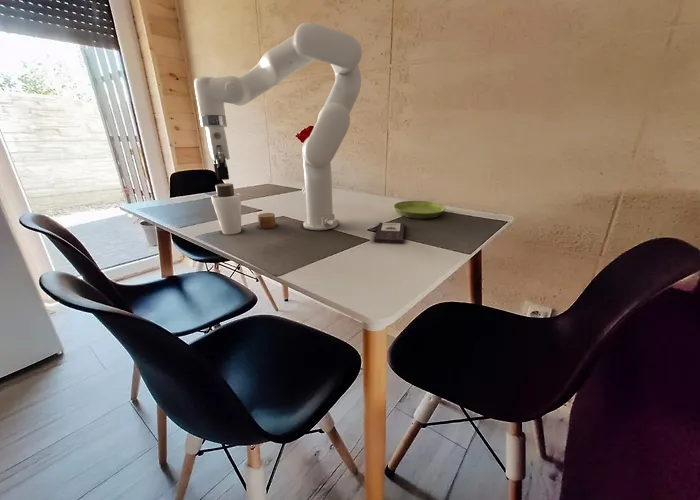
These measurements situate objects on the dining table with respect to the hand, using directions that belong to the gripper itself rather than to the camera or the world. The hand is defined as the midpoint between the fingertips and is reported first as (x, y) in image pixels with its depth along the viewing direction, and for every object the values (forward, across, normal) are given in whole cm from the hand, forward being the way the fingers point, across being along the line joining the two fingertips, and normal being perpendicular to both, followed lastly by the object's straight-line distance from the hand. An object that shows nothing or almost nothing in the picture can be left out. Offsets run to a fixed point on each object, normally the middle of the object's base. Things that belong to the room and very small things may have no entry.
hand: (222, 177), depth 104 cm
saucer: (+18, -15, -72) cm, 76 cm away
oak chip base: (+19, 0, -13) cm, 23 cm away
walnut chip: (+6, 0, 0) cm, 6 cm away
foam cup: (+19, 0, 0) cm, 19 cm away
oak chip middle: (+17, 0, -13) cm, 21 cm away
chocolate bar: (+18, -30, -48) cm, 59 cm away
